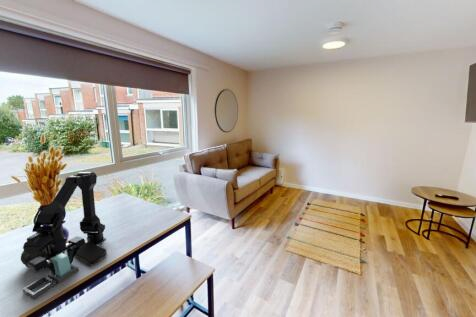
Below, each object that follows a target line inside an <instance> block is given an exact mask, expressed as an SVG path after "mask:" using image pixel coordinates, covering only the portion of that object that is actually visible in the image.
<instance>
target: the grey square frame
mask: <svg viewBox="0 0 476 317" xmlns="http://www.w3.org/2000/svg"><path fill="white" fill-rule="evenodd" d="M70 267H71V271H69V272H68V273H66V274H65V275H63V276H62V277H60V278H59V277H57V276H56V275H54V274H52V273H51V272H49V273H48V274H47V277H49V278H50V279H52V280H54V281H55V283H57V284H62V283H63V282H64V281H66V280H67V279H69V278H70V277H72V276H74V275H75V274H76V273H77V272H79V271H80V270H79V267H78V266H76V265H74V264H73V263H72V264H70Z"/></svg>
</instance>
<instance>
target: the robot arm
mask: <svg viewBox="0 0 476 317" xmlns="http://www.w3.org/2000/svg"><path fill="white" fill-rule="evenodd" d="M97 178H98V176H97V174H96V173H95V172H93V171H78V173H77V174H72V175H70V176H67V177H65V179H64V183H63V185H62V186H61V187H60V189H59V190H58V192H57V194H56V195H55V197H54V198H53V199H52V201H51V202H50V203H49V204H48V205H46V206H44V207H43V208H42V209H41V210H40V211H39V212H38V214H37V216H36V219H35V222H34V224H33V228H32V229H31V232H33V234H32V235H30V236H28V237H27V238H26V242H24V243H23V246H22V248H23V251H25V252H26V253H28V254H31V255H35V254H37V253H38V252H40V251H45V252H46V253H49V255H47V256H46V257H44V258H42V257H40V256H38V257H37V258H35V259H33V260H31V261H29V262H28V264H27V266H28V270H30V271H33V272H35V273H38V272H39V271H42V270H44V269H46V270H48V271H49V273H52V274H54V275H55V268H54V263H52V262H51V261H50V260H51V259H52V258H54V257H56V256H58V255H59V254H61V253H63V252H66V255H68V258H69V262H70V264H72V265H73V262H74V259H75V258H76V257H75V255H76V253H77V251H78V249H80V247H81V246H83V245H84V244H85V243H87V242H92V243H94V244H96V245H99V244H100V243H102V242H103V241H105V240H106V239H107V238H105V237H104V232H105V230H106V225H105V224H104V223H103V224H102V222H101V219H100V217H98V215H97V213H96V205H95V195H94V194H95V192H94V188H95V186H96V184H97ZM77 187H78V188H79V190H81V191H80V192H81V197H82V198H81V200H82V209H83V210H82V212H83V217H82V220H81V221H79V230H81V232H82V233H83V235H86V240H87V241H86V240H85V238H83V237H80V236H74V237H73V238H70V239H69V240H67V237H65V234H64V229H63V226H62V225H64V224H65V223H66V222H67V221H66V220H63V219H64V217H65V215H66V206H67V204H68V202H69V201H70V199H71V198H72V196H73V194H74V193H75V191H76V189H77ZM44 225H45V226H44ZM46 225H47V226H46ZM55 276H56V275H55Z"/></svg>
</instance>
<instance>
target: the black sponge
mask: <svg viewBox="0 0 476 317" xmlns="http://www.w3.org/2000/svg"><path fill="white" fill-rule="evenodd" d="M107 254H108V253H107V250H106V248H104V247H102V246H100V245H99V244H97V245H96V244H94V243H92V242H87V241H86V242H85V244H84V245H83V246H81V247H80V249H78V251H77V253H76V255H75V257H74V258H78V259H80V260H81V261H82V262H85V263H86V264H87V265H88V266H93V265H95V264H96V263H98V262H99V261H100V260H101V259H103V258H105V257H106V256H107Z"/></svg>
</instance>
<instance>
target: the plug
mask: <svg viewBox="0 0 476 317" xmlns="http://www.w3.org/2000/svg"><path fill="white" fill-rule="evenodd" d="M52 263H54V268H55V276H57V277H59V278H60V277H62V276H63V275H65V274H66V273H68V272H69V271H71V267H70V262H69V258H68V255H67V254H66V253H64V254H63V253H62V254H60V255H58V256H56V257H54V258H53V259H52Z"/></svg>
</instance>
